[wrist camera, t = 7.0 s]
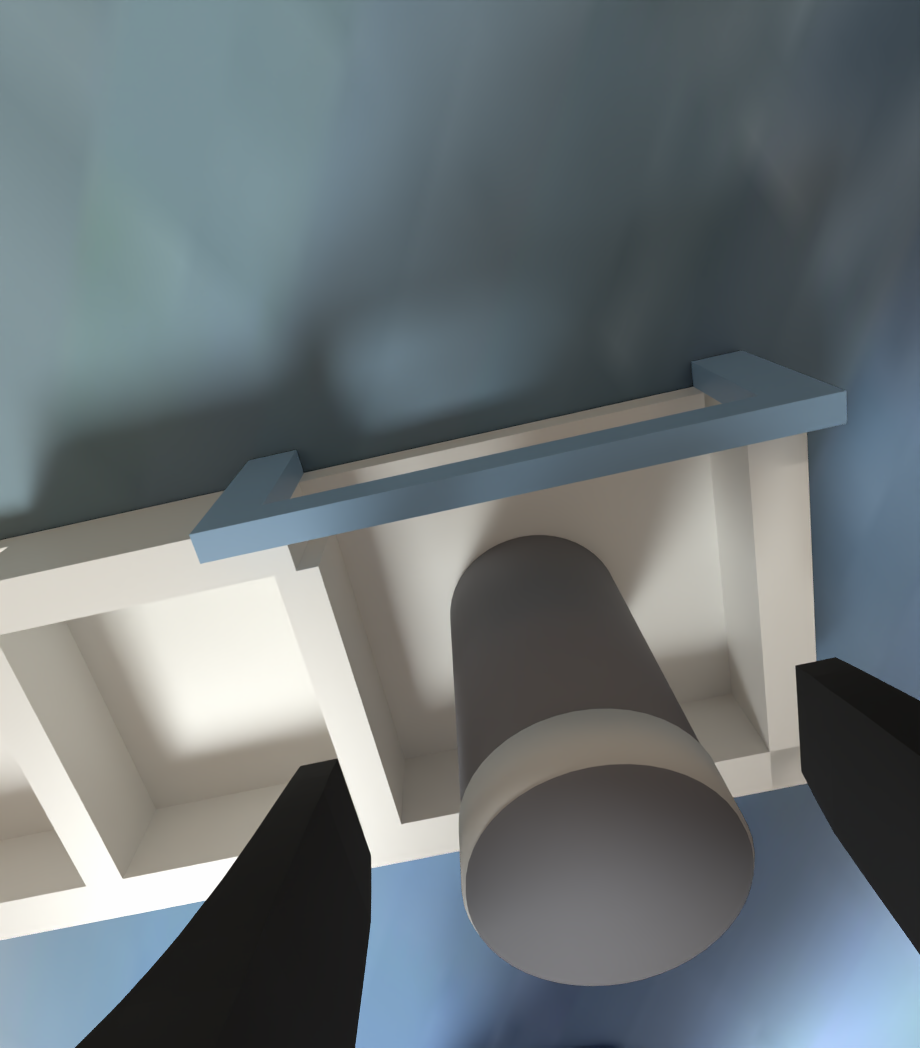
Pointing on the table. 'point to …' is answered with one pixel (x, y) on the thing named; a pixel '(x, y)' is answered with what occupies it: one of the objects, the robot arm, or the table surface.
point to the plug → (582, 778)
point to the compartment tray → (381, 632)
